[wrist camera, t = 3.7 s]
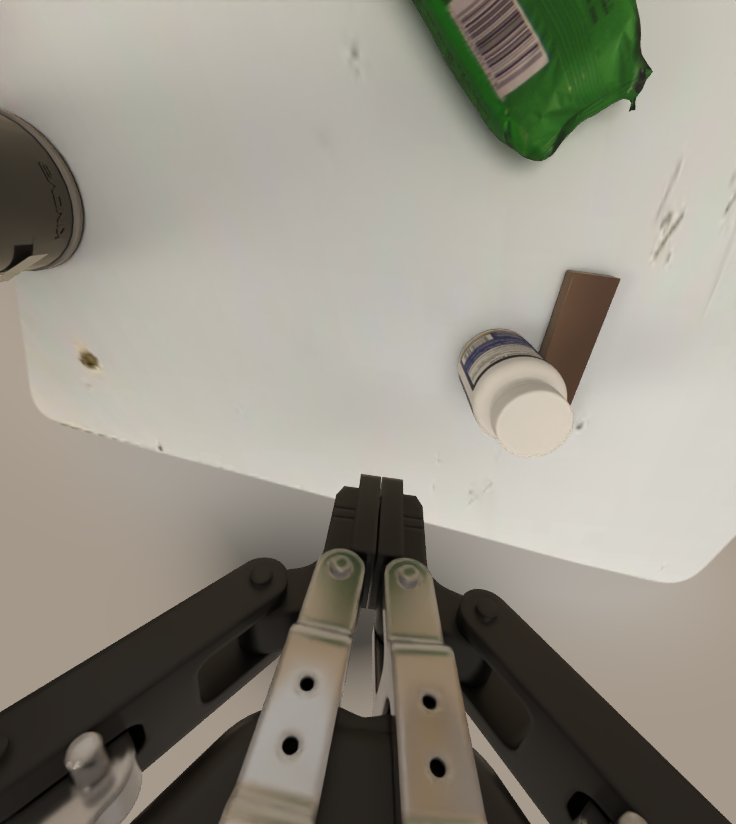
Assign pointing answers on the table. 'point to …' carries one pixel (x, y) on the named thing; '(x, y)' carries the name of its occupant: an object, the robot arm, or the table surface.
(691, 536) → the table surface
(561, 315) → the bar
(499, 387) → the pill bottle
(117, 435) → the table surface
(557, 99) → the snack package
